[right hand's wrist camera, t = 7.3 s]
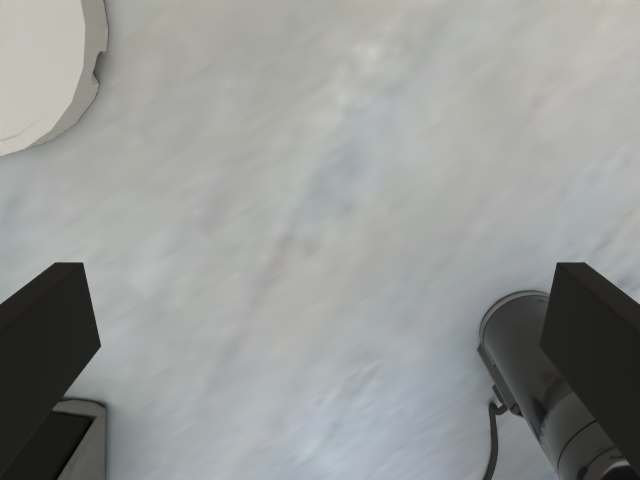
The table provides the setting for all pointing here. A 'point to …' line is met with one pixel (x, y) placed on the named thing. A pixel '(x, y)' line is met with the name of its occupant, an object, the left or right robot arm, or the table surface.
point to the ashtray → (47, 67)
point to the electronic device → (65, 445)
